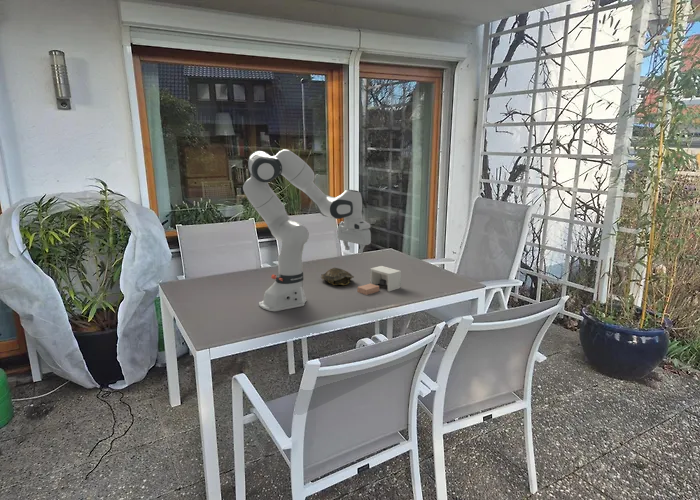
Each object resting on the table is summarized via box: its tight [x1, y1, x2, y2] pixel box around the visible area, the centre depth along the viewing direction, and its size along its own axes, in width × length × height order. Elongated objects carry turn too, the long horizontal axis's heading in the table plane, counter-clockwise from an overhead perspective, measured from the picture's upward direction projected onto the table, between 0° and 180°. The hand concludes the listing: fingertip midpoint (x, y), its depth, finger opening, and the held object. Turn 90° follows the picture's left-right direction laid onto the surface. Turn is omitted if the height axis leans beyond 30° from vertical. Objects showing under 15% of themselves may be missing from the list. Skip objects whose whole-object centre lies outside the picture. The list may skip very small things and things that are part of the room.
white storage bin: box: [369, 265, 402, 292], centre depth 231 cm, size 8×14×9 cm, turn 42°
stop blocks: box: [379, 279, 386, 286], centre depth 233 cm, size 2×10×2 cm, turn 42°
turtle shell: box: [320, 267, 355, 286], centre depth 241 cm, size 16×9×20 cm
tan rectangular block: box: [357, 282, 380, 296], centre depth 224 cm, size 9×6×3 cm
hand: (353, 251), depth 214 cm, fingers open, 8 cm apart
